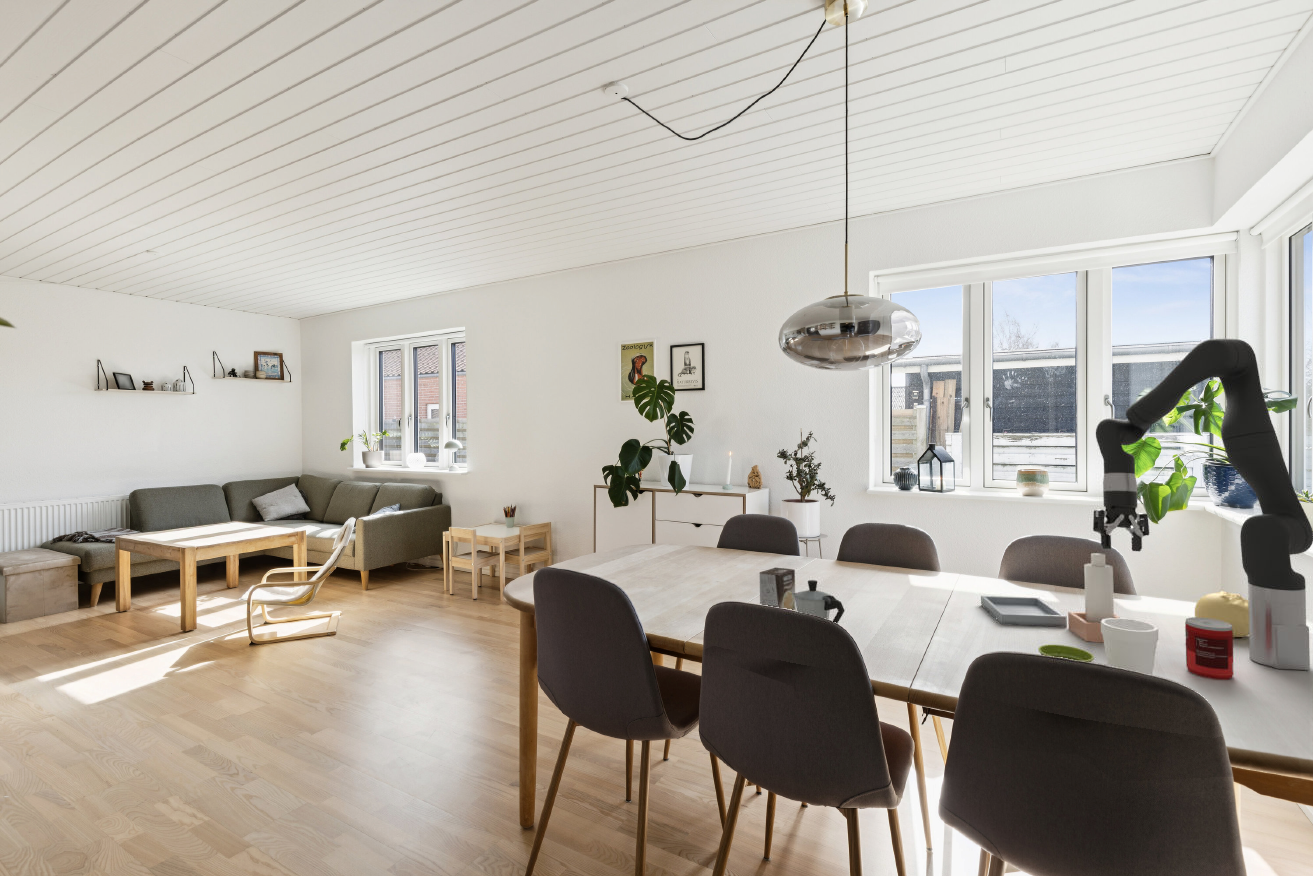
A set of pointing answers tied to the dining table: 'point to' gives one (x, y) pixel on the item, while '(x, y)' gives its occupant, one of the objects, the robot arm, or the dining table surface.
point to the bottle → (1098, 589)
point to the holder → (1085, 627)
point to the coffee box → (778, 588)
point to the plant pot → (1066, 652)
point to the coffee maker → (817, 602)
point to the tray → (1023, 611)
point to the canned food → (1209, 648)
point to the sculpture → (1225, 611)
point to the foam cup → (1130, 643)
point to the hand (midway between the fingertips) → (1121, 550)
